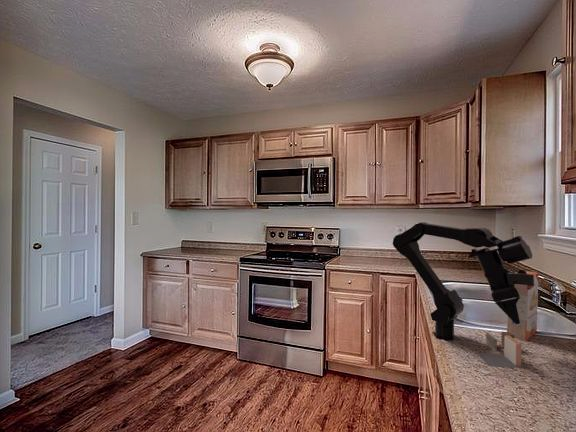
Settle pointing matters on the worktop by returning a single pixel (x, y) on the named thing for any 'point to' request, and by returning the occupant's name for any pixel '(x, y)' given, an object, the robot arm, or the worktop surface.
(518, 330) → the cracker box
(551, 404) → the worktop surface
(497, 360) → the slate mat
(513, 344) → the glazed tile
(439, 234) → the robot arm
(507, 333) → the walnut turner
